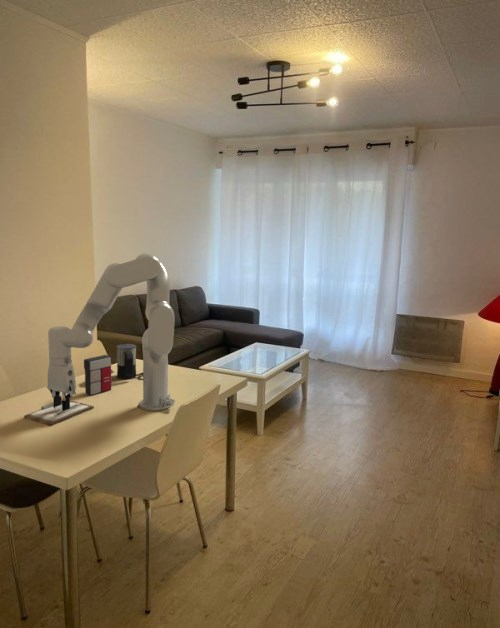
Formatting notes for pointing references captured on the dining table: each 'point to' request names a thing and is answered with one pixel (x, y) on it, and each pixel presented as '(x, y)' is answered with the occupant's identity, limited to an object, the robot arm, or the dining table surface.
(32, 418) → the clipboard
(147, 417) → the dining table surface
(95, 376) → the grey and red box
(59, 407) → the picture light
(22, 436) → the dining table surface
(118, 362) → the milk frother
